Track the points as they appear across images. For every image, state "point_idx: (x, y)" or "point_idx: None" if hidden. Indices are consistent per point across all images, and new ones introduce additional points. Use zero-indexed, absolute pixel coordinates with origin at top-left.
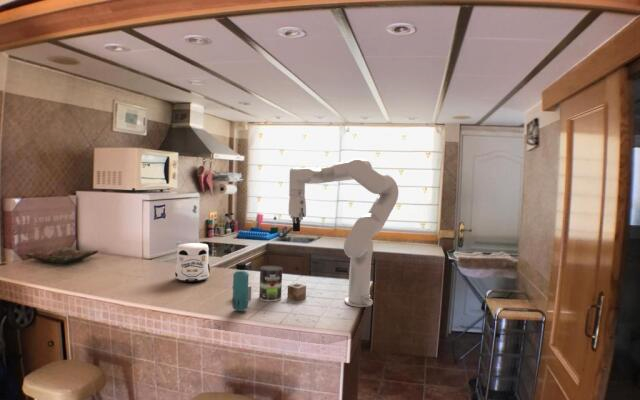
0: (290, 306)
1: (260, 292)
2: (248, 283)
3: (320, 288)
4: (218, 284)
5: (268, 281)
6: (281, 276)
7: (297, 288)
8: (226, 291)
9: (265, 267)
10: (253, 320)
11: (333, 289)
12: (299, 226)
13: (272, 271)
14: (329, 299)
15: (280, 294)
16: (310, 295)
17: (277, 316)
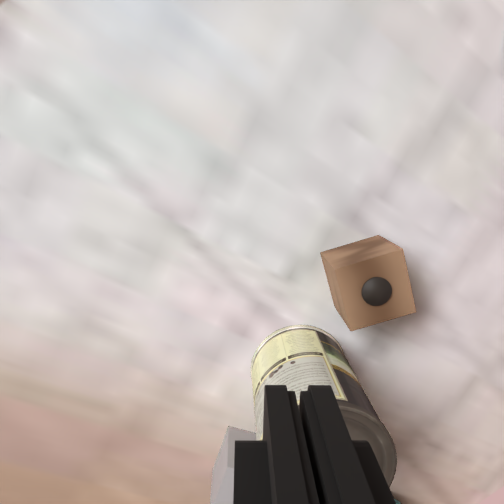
0: (430, 341)
1: None
2: (232, 475)
3: (280, 74)
4: (24, 488)
5: None
6: (363, 396)
7: (415, 310)
8: (139, 486)
9: None
10: (473, 496)
11: (331, 11)
12: (353, 460)
13: (388, 482)
14: (451, 139)
15: (340, 350)
16: (355, 192)
17: (489, 423)
